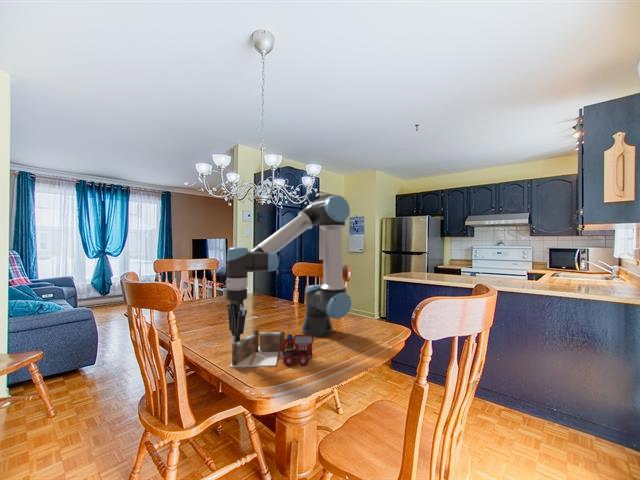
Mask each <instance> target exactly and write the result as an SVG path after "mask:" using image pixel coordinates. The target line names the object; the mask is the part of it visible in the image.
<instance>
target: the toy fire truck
mask: <svg viewBox="0 0 640 480" xmlns="http://www.w3.org/2000/svg"><path fill="white" fill-rule="evenodd" d="M313 343H314V336H313V335H305V334H295V335H294V336H293V334H292V333H291V334H290V333H288V334H287V336H286V338H285V340H284V342H283V344H282V346H281V347H280V350H279V353H278V356H279V359H280V360H282V361H283V364H284V366H287V367H291V366H292V365H294V363H295V361H297V364H298V366H300V367H306V366H308V365H309V362H310V360H312V359H313Z"/></svg>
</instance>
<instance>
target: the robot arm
mask: <svg viewBox="0 0 640 480" xmlns="http://www.w3.org/2000/svg"><path fill="white" fill-rule="evenodd" d="M350 213H351V209H350V205H349V203H348V200H346V199H345V198H344V197H343V196H342V195H341V196H340V195H337V194H336V195H329V196H326V197H322V198H317V199H315V200H314V201H312V202H311V203H309V204H308V205H307V206H306V207H305V208H303V209H302V210H301V211H299V212H298V213H297V216H296V217H295V218H293V219H291V221H289V222H287V223H286V224H285V225H283V226H281V228H280V229H278V230H277V231H275V232H273V234H272V235H270V236H269V237H267V238H266V239H264V240H263V241H262V242H260V243H259V244H258V245H256V246H255V247H253V248H252V249H251V250H249V248H247V247H239V246H238V247H237V246H236V247H235V246H233V247H229V248H228V249H227V253H226V280H225V284H226V293H225V294H226V296H225V297H226V300H227V301H229V304H227V305H226V308H227V315H228V329H229V331H230V333H231V345H232V344H233V343H236V342H238V341H240V340H241V335H244V331H245V325H246V324H245V323H246V316H247V314H248V310H247V309H245V306H244V305H245V304H244V301H245V300H247V299H248V289H247V288H248V281H249V280H248V279H249V277H248V276H249V275H248V273H257V272H258V273H260V272H263V273H264V272H274V271H276V270H278V268H279V262H280V260H279V256H278V252H280V250H282V249H283V248H284V247H285V246H287V245H288V244H290V243H291V242H292V241H293V240H295V239H297V238H298V237H299V236H301V234H303V233H304V232H305V231H306V230H311V229H312V228H314V227H315V226H318V227H319V228H320V229H321V230H322V261H323V262H322V263H323V264H322V267H323V269H322V270H323V271H322V272H323V274H322V275H323V276H322V277H323V283H322V284H311V285H307V286H306V287H305V317H304V321H303V324H302V327H301V332H302V333H301V334H302V335H313V337H315V338H316V337H317V338H318V337H326V336H330V335H332V334H333V333H334V327H333V324H332V320H331V319H332V318H333V319H343V318H344V317H346V316H347V315H348V313H349V312H350V311H351V307H352V299H351V296H350V295H349V294H348V293H347V286H346V285H345V284H344V283H343V279H344V277H343V276H344V275H343V239H342V238H343V235H342V232H343V229H344V228H345V227H346V220H347V219H348V218H349V217H350Z"/></svg>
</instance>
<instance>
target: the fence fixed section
mask: <svg viewBox="0 0 640 480" xmlns="http://www.w3.org/2000/svg"><path fill="white" fill-rule="evenodd" d="M253 334H255V335H256V337H255V352H258V351H259V346H260V351H279V350H280V347H281V346H282V344H283V342H284V340H285V339H286V338H285V337H286V335H285V331H282V330H281V331H277V332H276V331H275V332H273V331H268V332H267V331H266V332H264V331H262V332H260V333H259V328H255V329H253Z"/></svg>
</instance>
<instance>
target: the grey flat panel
mask: <svg viewBox="0 0 640 480" xmlns="http://www.w3.org/2000/svg"><path fill="white" fill-rule="evenodd" d="M255 337H256V335H255V334H254V333H252V334H249V335H247V336H245V337H243V338H242V339H240V341H238V342H236V343H233V344H232V343H231V363H232V365H237V363H239V362H241V361H242V360H244V359H245V358H247V357H248V356H250V355H251V354H253V353H255Z"/></svg>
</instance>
